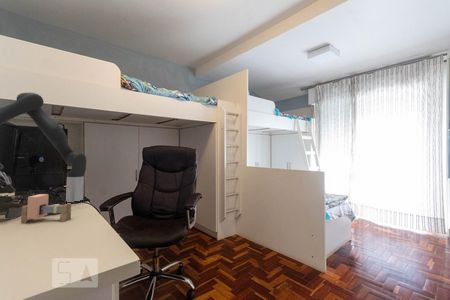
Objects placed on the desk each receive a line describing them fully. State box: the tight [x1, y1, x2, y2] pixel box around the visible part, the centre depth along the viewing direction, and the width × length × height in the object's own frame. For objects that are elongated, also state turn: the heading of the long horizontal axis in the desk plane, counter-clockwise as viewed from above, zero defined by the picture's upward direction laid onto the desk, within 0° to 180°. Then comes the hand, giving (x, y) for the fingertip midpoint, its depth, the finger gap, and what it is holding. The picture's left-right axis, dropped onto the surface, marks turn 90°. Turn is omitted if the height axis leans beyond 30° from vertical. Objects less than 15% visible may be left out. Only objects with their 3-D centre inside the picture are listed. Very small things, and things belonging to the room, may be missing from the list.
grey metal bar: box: [39, 204, 62, 213], centre depth 99 cm, size 3×16×3 cm, turn 99°
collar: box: [27, 193, 49, 220], centre depth 99 cm, size 7×4×10 cm, turn 9°
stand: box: [20, 203, 72, 224], centre depth 99 cm, size 5×18×8 cm, turn 99°
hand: (12, 192), depth 98 cm, fingers closed
